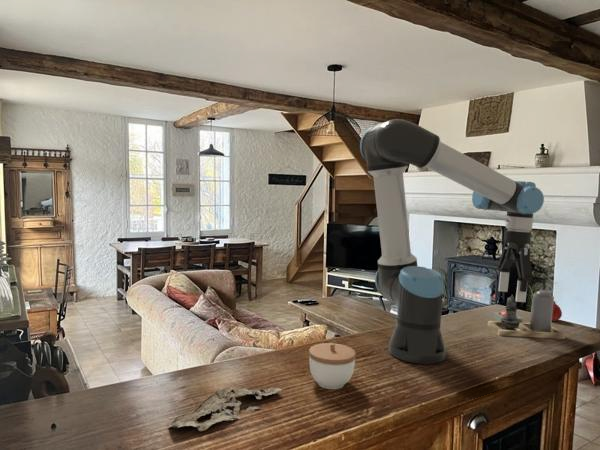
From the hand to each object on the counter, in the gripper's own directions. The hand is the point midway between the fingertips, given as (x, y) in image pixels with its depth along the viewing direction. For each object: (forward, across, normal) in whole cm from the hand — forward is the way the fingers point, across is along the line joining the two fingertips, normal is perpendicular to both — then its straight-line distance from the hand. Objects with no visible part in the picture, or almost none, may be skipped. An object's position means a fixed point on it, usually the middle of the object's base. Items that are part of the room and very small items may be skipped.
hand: (511, 296), depth 144 cm
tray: (+12, 0, +6) cm, 13 cm away
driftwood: (+15, +59, -78) cm, 99 cm away
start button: (+11, -12, +4) cm, 17 cm away
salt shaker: (+12, 0, +1) cm, 12 cm away
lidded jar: (+14, +44, -57) cm, 74 cm away
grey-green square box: (+12, -12, +4) cm, 17 cm away
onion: (+12, -16, +22) cm, 29 cm away
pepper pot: (+11, 0, +10) cm, 15 cm away
